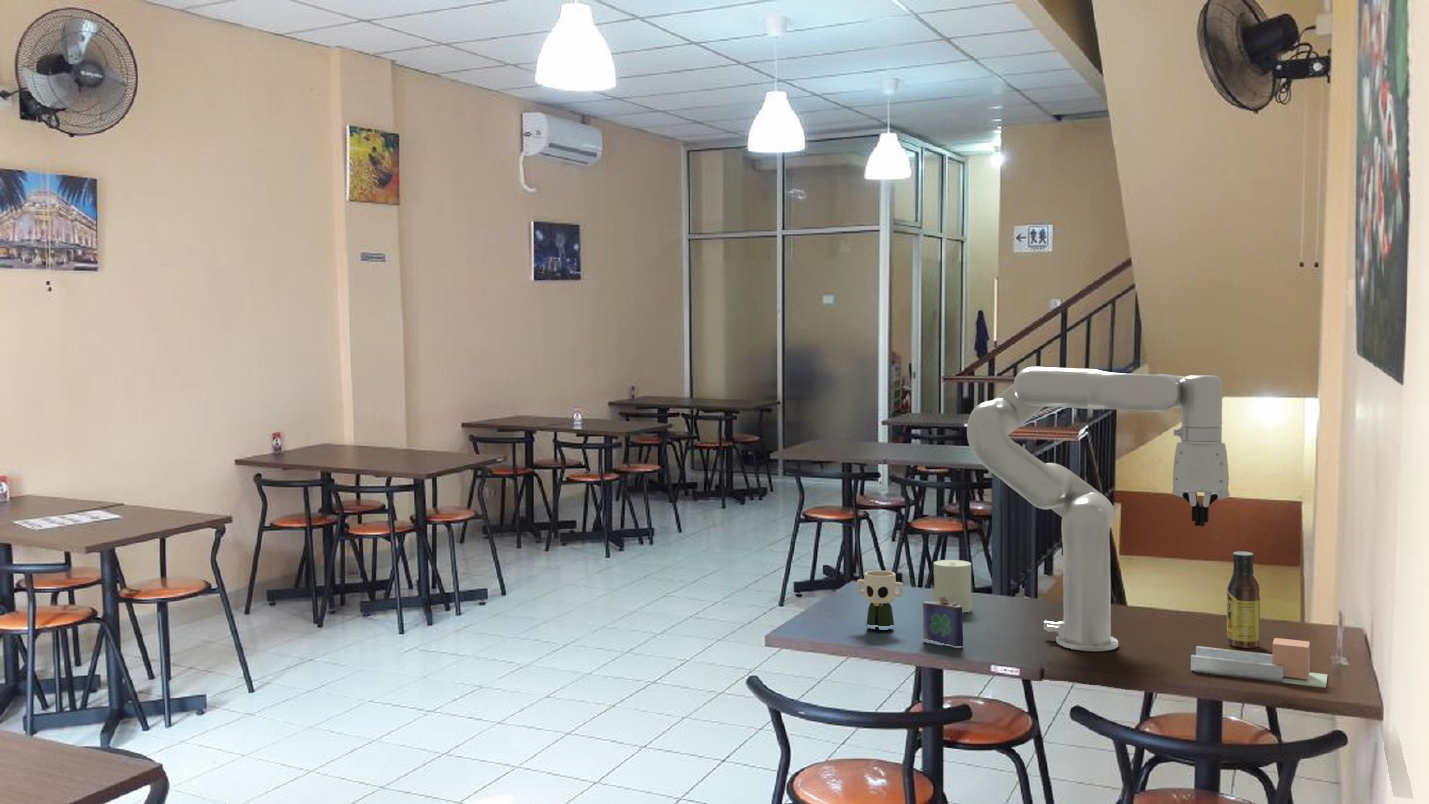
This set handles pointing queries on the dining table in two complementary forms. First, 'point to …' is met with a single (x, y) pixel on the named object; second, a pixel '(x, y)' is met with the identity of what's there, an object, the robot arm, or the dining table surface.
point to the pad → (1309, 680)
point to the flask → (943, 622)
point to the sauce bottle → (1243, 603)
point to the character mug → (880, 595)
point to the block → (1292, 657)
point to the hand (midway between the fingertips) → (1200, 525)
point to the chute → (1236, 664)
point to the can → (953, 582)
